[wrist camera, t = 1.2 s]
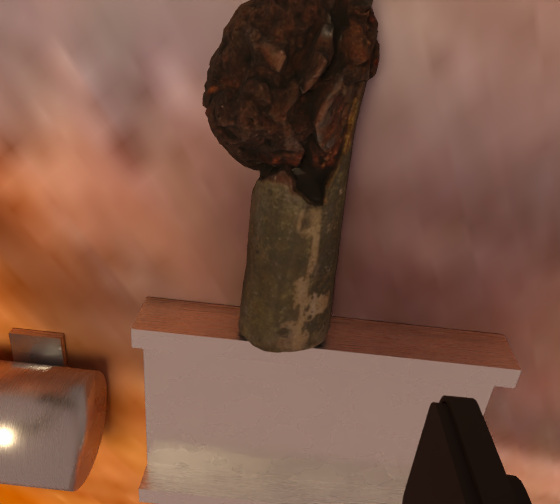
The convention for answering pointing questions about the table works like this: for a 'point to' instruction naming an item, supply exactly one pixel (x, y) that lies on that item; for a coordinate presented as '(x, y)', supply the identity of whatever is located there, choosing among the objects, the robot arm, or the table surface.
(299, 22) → the brown knobbed club
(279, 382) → the cradle
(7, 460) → the duct stub
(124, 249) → the table surface
